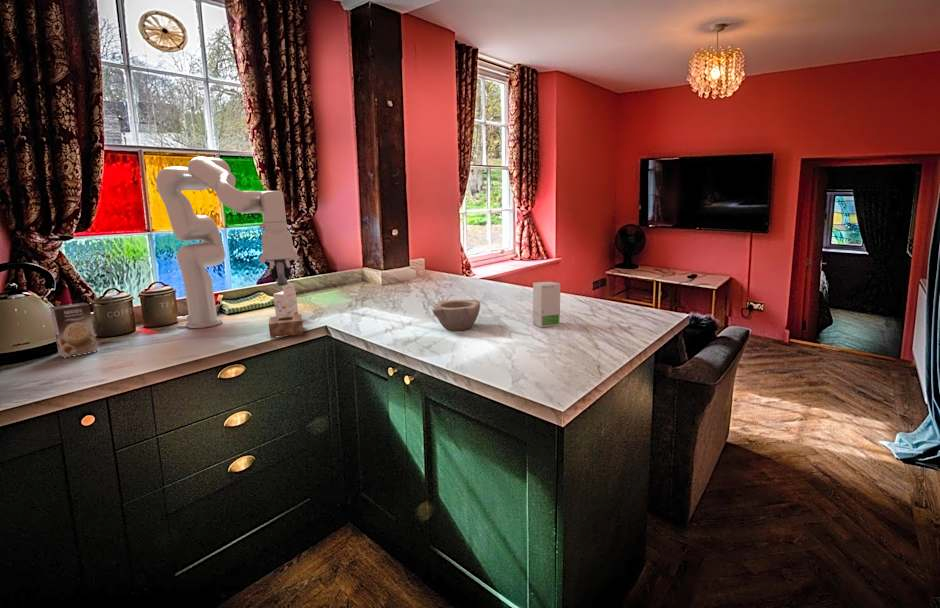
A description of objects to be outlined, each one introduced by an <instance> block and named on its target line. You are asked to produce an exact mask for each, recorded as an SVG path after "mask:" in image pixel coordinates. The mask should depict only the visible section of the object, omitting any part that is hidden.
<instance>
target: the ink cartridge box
mask: <svg viewBox="0 0 940 608" xmlns="http://www.w3.org/2000/svg"><path fill="white" fill-rule="evenodd" d="M295 286H296V285H295V283H294V282H291V283H288V285H283V286H282V287H281V288H282V290H281V291H278V292H276V293H273V294H272V295H273V303H274V310H275V317H276V316H286V315H297V314H299V310H298V302H297V301H298V300H297V292H296V287H295Z"/></svg>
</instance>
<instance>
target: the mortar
mask: <svg viewBox="0 0 940 608" xmlns="http://www.w3.org/2000/svg"><path fill="white" fill-rule="evenodd" d="M480 310H481V302H480V300H478V299H450V300H439V301H438V302H437V303H435V304H434V305H433V309H432V313H433V315H434V316H435V318H437V320H438V321H439V323H440V325H441V326H442V327H443V328H445V330H449V331H466V330H469V329H471V328H472V327H473V326H474V324H475V322H476V320H477V319H478V316H479V313H480Z"/></svg>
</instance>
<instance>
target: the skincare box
mask: <svg viewBox="0 0 940 608" xmlns="http://www.w3.org/2000/svg"><path fill="white" fill-rule="evenodd" d="M560 316H561V283H560V282H555V281H554V282H553V281H542V282H541V281H540V282H539V281H538V282H533V283H532V324H533V325H534V326H536V327H538V328H542V329H543V328H549V327H556V326H557V327H559V326H561V325H560V324H561V323H560V322H561V321H560V319H561V317H560Z"/></svg>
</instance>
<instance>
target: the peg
mask: <svg viewBox="0 0 940 608" xmlns="http://www.w3.org/2000/svg"><path fill="white" fill-rule="evenodd" d="M274 266H275V271H276V280H275V281H276V286H277V287H278V286H279V287H281V286H282V287H283V286H285V285H288V284H289V282H288V279H287V276H286V261H285V259H284V260H274Z"/></svg>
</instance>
